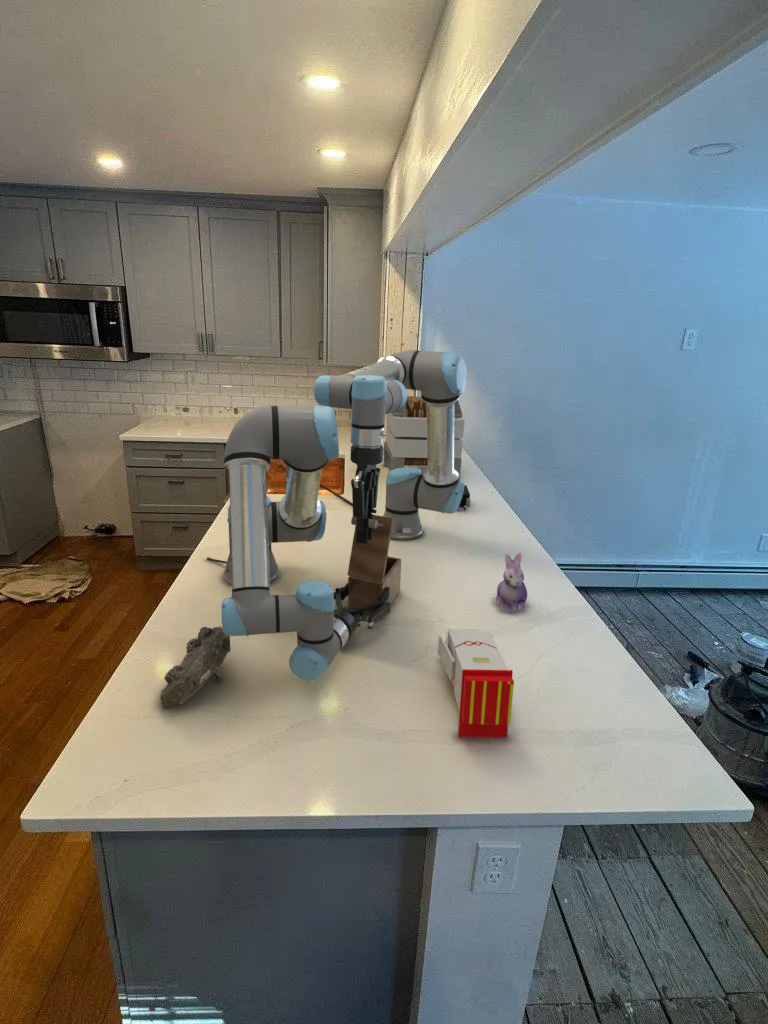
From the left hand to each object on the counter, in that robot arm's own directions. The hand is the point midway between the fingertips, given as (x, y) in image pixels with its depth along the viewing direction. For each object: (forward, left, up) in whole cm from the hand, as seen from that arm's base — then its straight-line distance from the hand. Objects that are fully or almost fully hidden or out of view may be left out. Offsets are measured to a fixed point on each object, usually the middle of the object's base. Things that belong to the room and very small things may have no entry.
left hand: (369, 588), depth 147 cm
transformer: (-24, +133, -6) cm, 135 cm away
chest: (0, +5, -6) cm, 7 cm away
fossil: (-22, -41, -6) cm, 47 cm away
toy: (+31, -24, -6) cm, 40 cm away
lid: (0, 0, +12) cm, 12 cm away
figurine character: (+5, +93, -6) cm, 93 cm away
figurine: (+35, +17, -6) cm, 39 cm away
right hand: (0, -5, +16) cm, 16 cm away
